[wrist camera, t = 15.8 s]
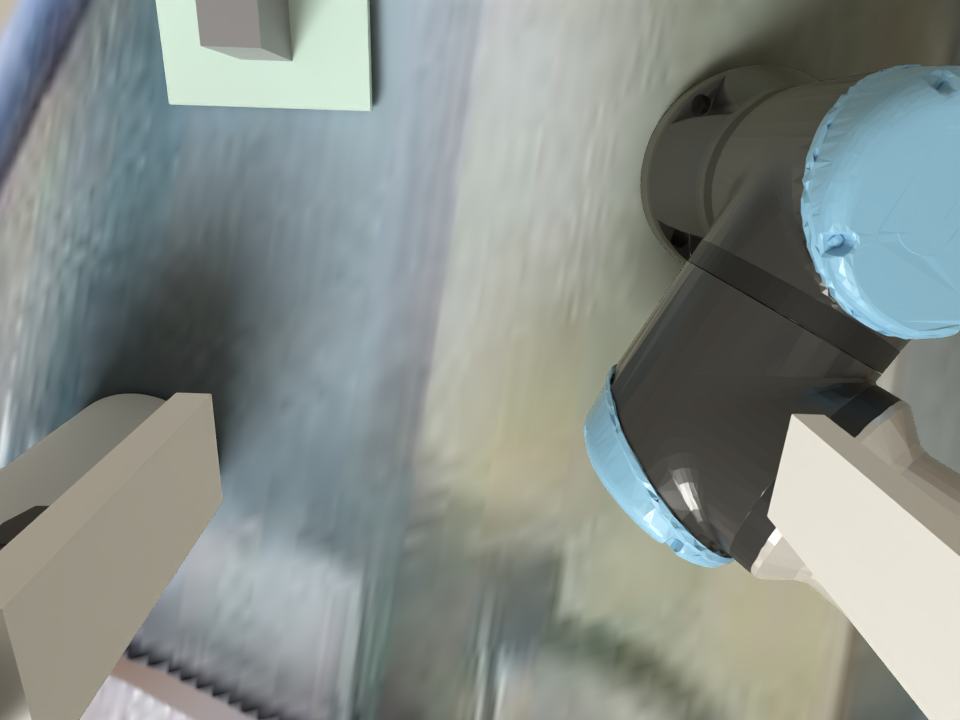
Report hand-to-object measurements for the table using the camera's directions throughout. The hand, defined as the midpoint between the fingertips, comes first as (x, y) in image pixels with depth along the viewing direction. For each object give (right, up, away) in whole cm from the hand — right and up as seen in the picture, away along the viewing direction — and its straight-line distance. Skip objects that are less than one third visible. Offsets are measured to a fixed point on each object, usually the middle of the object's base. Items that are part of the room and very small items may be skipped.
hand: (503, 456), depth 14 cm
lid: (-15, +27, +28) cm, 42 cm away
